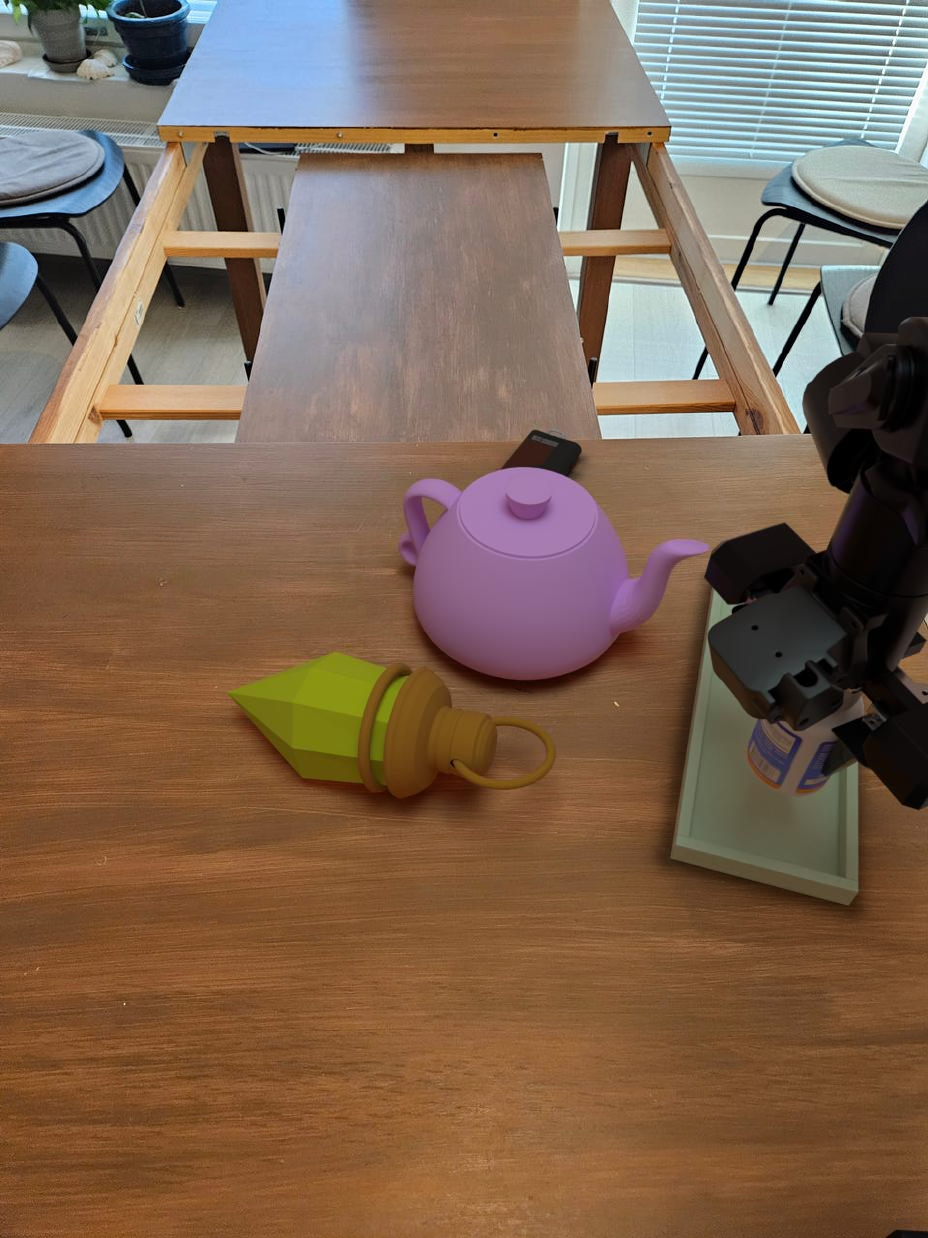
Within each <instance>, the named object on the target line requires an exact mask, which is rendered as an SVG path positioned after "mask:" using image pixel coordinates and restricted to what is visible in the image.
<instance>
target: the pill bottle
mask: <svg viewBox="0 0 928 1238" xmlns="http://www.w3.org/2000/svg"><path fill="white" fill-rule="evenodd" d="M862 694H863V692H862V691H861V692H859V693H856V694H851V693H849V692H848V691H847V690H844V701H843V705H842V706H841V707H840V708H839V709H838V710H837V711H836V712H835V713H833V714H831V715H830V716H828V717H826V718H825V719H823V720H821V721H819V722H818V723H816V724H814V725H813V726H811V727H809V728H807V729H806V730H804V731H794V730H793V729H792V728H791V727H790V726H789V724H788V723H787V722H784V721H779V722H777V723H775V724H769V722H768V721H767V720H766V719H758V720H757V723H756V725H755V728H754V730H753V733H752V735H751V738H750V740H749V743H748V747H747V762H748V765H749V767H750V769H751V771H752V773H753V774H754V776H755V777H756V778H757V779H758V780H759V781H760V782H761V783H763V784H764V785H765V786H767V787H768V788H770V789H772V790H774V791H776V792H778V793H781V794H784V795H788V796H795V797H801V796H807V795H811V794H813V793H816V792H817V791H819V790H820V789H822V788H823V787H824V786H825V785H826V783H827V782H828V781H829V779H830V777H831V776H832V775H831V776H828V777H825V776H824V775H823V774H822V773H821V771H822V768H823V765H824V762H825V760H826V758H827V757H828V755H829V753H830V752H831V750H832V749H833V747H834V745H835V744H836V742H837V741H838V738H837V737H836V736H835V734H834V733H833V732H832V731H831V729H832V728H834V727H837V726H839V725H842V724H844V723H847V722H849V721H852V720H854V719H857V718H859V717H862V716H864V714H865V705H864V699H863V696H862Z"/></svg>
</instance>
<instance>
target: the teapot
mask: <svg viewBox="0 0 928 1238" xmlns="http://www.w3.org/2000/svg"><path fill="white" fill-rule="evenodd" d="M404 494H405V495H404V497H403V503H402V509H403V513H404V520H405V523H406V526H407V530H408V531H406V532H404V533H403V534H402V535H401V536H400V538H399V540H398V544H397V549H398V553H399V555H400V556H401V558H402V559H403V560H404V561H405V562H406V563H407V564H408V565H410V566H412V567H415V571H414V576H413V587H412V592H413V593H412V599H413V608H414V610H415V614H416V617H417V620H418V622H419V624H420V626H421V627H422V629H423V630H424V632H425V633H426V635H427V636H428V638H429V639H430V640H431V642H432V643H433V644H434V645H435V646H436V647H437V648H439V650H441V651H442V653H444V654H446V655H447V656H448V657H449V658H451V659H453V660H454V661H456V662H458V663H459V664H461V665H463V666H465V667H467V668H469V669H472V670H474V671H476V672H479V673H482V674H485V675H489V676H492V677H497V678H499V679H500V678H502V679H505V680H515V681H537V680H546V679H551V678H555V677H560V676H564V675H566V674H569V673H572V672H575V671H577V670H579V669H581V668H583V667H586V666H588V665H589V664H590V663H592V662H594V661H595V660H597V659H598V658H600V656H602V655H603V654H604V653H605V652H606V651H608V649H609V648H610V647H611V646H612V645H613V643H615V641H616V640H617V638H618V637H619V636H620V634H622V633H627V632H631V631H633V630H635V629H637V628H639V627H641V626H643V625H644V624H645V623H647V622H648V621H649V620H650V619H651V618H652V617H653V615H654V614H655V613H656V612H657V610H658V609H659V607H660V605H661V603H662V601H663V599H664V597H665V593H666V589H667V586H668V582H669V580H670V576H671V574H672V571H673V569H675V567H676V566H677V564H679V563H681V562H683V561H684V560H686V559H689V558H693V557H697V556H700V555H703V554H705V553H707V552H709V550H710V545H709V544H708V543H707V542H704V541H701V540H696V539H689V538H688V539H687V538H683V539H682V538H678V539H676V538H675V539H669V540H665V541H664V542H662V543H660V544H659V545H657V546H656V547H655V548H654V549H653V550H652V551H651V553H650V554H649V556H648V558H647V560H646V563H645V565H644V568H643V571H642V574H641V575H640V576H639V577H635V578H631V577H630V571H629V564H628V560H627V556H626V553H625V550H624V546H623V544H622V541H621V539H620V537H619V535H618V533H617V531H616V530H615V528H614V526H613V524H612V522H611V521H610V519H609V518H608V516H607V515H606V513H605V512H604V511H603V509H602V507H601V506H600V504H599V503H598V502H597V500H596V499H595V498H594V497H593V496H592V495H591V493H589V492H588V491H587V490H586V489H585V487H583V486H582V485H581V484H579V483H578V482H577V481H575V480H573V479H571V478H570V477H568V476H567V475H566V476H563V475H561V474H558V473H555V472H552V471H549V470H545V469H539V468H529V467H517V468H508V469H503V470H500V469H499V470H496V471H492V472H490V473H487V474H485V475H483V476H480V477H479V478H477V479H475V480H474V481H473V482H472V483H470V484H469V485H468V486H467V487H466V488H464V489H463V490H462V491H461V490H460V488H457V487H456V486H455V485H453V484H451V483H450V482H448V481H446V480H443V479H439V478H433V477H432V478H431V477H429V478H423V479H420V480H418V481H416V482H415V483H413V484H412V485H411V486H410V487H408V489H407V491H406V493H404ZM423 499H429V500H431V501H434V502H436V503H437V504H440V505H441V506H442V507H444V508H445V509H444V511H443V512H442V513H441V514H440V515H439V517H438V518H437V520H435V522H434V523H433V525H432V527H431V528H430V525H429V522H428V519H427V515H426V512H425V509H424V504H423Z"/></svg>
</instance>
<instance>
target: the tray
mask: <svg viewBox="0 0 928 1238" xmlns="http://www.w3.org/2000/svg"><path fill="white" fill-rule="evenodd" d="M742 604H743V603H742ZM739 605H740V604H739ZM735 606H737V605H727V603H726V602H725V601H724V600H723V599H722V598H721V596H720V595H719V594H718V593H717V592H716V591H715V590H714V588H713V587H712V586H711V592H710V597H709V603H708V611H707V616H706V622H705V623H706V624H705V631H704V636H703V643H702V648H701V649H702V650H701V655H700V662H699V667H698V668H699V669H698V676H697V683H696V689H695V696H694V700H693V701H694V702H693V707H692V714H691V721H690V728H689V734H688V741H687V747H686V754H685V759H684V767H683V773H682V780H681V784H680V785H681V786H680V792H679V799H678V805H677V806H678V807H677V813H676V817H675V825H674V832H673V838H672V845H671V852H670V856H669V857H670V860H675V861H678V862H682V863H686V864H689V865H693V866H697V867H701V868H703V869H708V870H711V871H716V872H719V873H724V874H727V875H731V876H734V877H738V878H742V879H745V880H748V881H749V880H750V881H753V882H757V883H761V884H765V885H768V886H772V887H776V888H780V889H784V890H786V891H791V892H795V893H799V894H803V895H806V896H810V897H814V898H817V899H821V900H826V901H828V902H833V903H837V904H839V905H844V906H850V904H851V903H852V902H853V900H854V899H855V898H856V896H857V895H858V894H859V762H856V763H854V764H852V765H851V766H849V767H847V768H845V769H843V770H841V771H840V772H838V773H835V774H833V775H832V776H831V777H830V779H829V781H828V782H827V783H826V785H825V786H824V787H823V788H822V789H820V790H819V791H817V792H816V793H813V794H811V795H807V796H801V797H795V796H788V795H784V794H781V793H778V792H776V791H774V790H772V789H770V788H768V787H767V786H765V785H764V784H763V783H761V782H760V781H759V780H758V779H757V778H756V777H755V776H754V774H753V773H752V771H751V769H750V767H749V765H748V762H747V747H748V743H749V740H750V738H751V735H752V733H753V730H754V728H755V725H756V723H757V720H758V719H756V718H753V717H751V716H750V715H748V714H747V713H746V711H745V710H744V709H743V708H742V706H741V705H740V703H739V701H738V700H737V699H736V698H735V696H734V695H733V694H732V693H731V691H730V690H729V689H728V688H727V686H726V685H725V684H724V683H723V681H722V680H720V679H719V678H718V677H717V675H716V674H715V672H714V670H713V666H712V661H711V655H710V649H709V644H708V632H709V630H710V629H711V627H712V626H713V625H715V624H716V623H718V622H719V621H721V620H723V619H725V618H726V617H728V616H730V615H731V614H732V608H733V607H735Z"/></svg>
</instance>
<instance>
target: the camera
mask: <svg viewBox="0 0 928 1238" xmlns="http://www.w3.org/2000/svg"><path fill="white" fill-rule="evenodd" d="M552 432H554V433H557V434H560V436H557V435H555V434H552ZM582 453H583V449H582V446H581V445H580V444H579V443H578V442H576V441H574V440H573V441H572V440H570V439H567V438H566V434H565V432H563V431H562V430H558V429H555V428H552V427H551V428H549V429H548V430H546V432H544V431H542V430H538V429H532V430H531V431H530V432H529V433H528V434H527V436H526V437H525V438H524V440H523V441H522V442H521V443H520V444H519V446H518V447H517V448H516V450H514V452H513V453H512V454H511V455H510V457H509V458H508V459H507V460H506V462H504V464H503V465H502V466H501V468H500V469H499V470H503V469H508V468H517V467H529V468H539V469H545V470H549V471H552V472H555V473H558V474H561V475H563V476H566V477H567V475H568V474H569V473H570V471H571V470H572V469H573V467H574V466H575V465H576V463H577V462H578V461H579V459H580V455H581V454H582Z"/></svg>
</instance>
